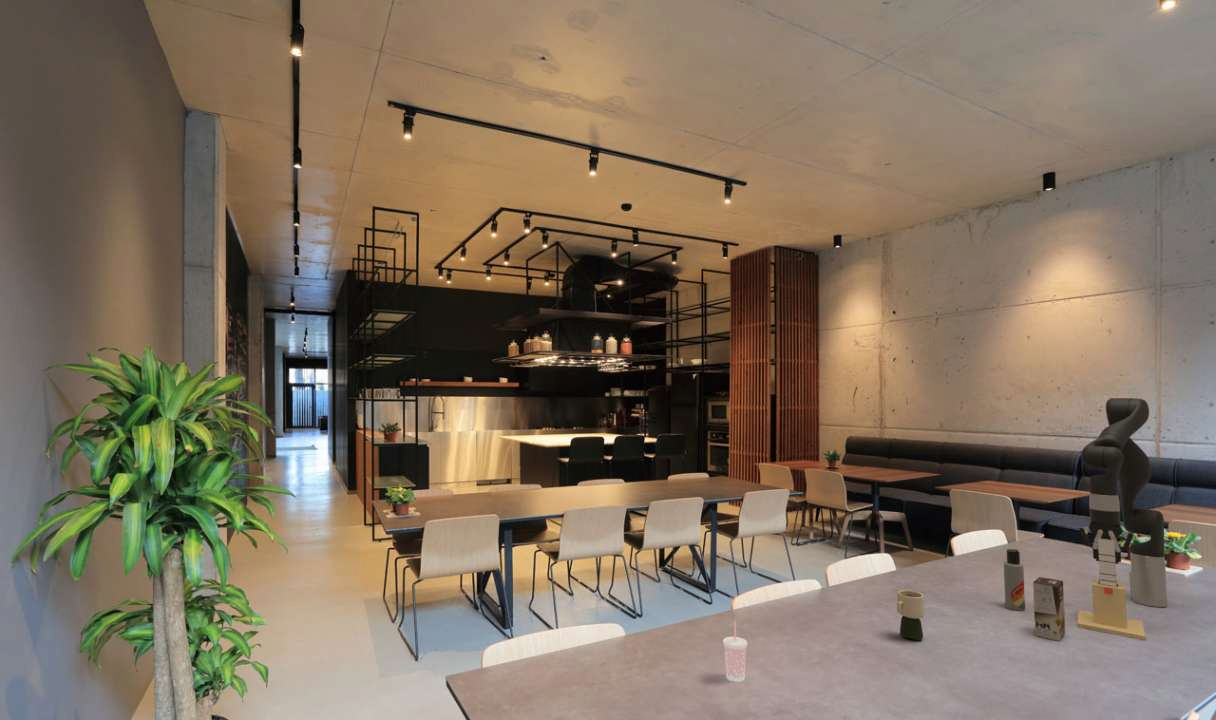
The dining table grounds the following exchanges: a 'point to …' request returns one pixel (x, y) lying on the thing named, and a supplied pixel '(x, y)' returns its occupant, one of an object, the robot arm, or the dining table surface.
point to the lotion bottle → (1014, 581)
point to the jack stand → (1110, 612)
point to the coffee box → (1049, 608)
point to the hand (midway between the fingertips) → (1107, 561)
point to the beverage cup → (735, 657)
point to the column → (1107, 562)
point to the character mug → (910, 613)
